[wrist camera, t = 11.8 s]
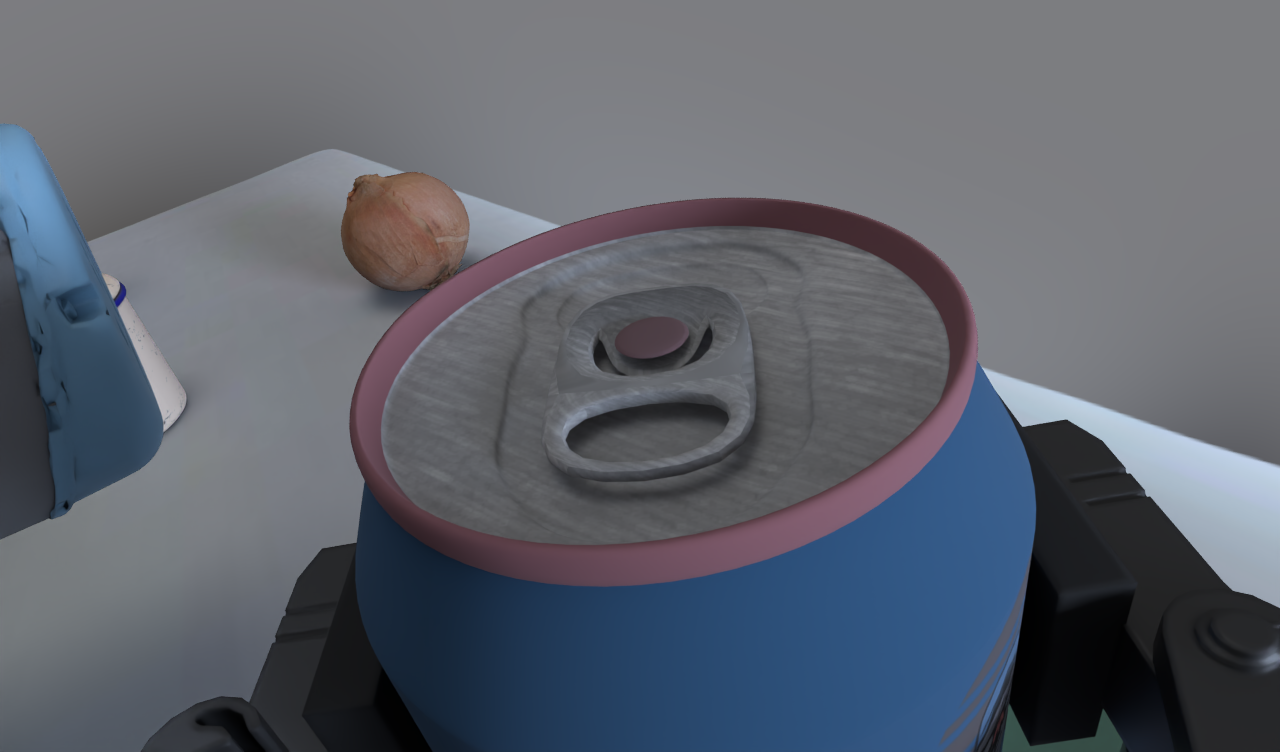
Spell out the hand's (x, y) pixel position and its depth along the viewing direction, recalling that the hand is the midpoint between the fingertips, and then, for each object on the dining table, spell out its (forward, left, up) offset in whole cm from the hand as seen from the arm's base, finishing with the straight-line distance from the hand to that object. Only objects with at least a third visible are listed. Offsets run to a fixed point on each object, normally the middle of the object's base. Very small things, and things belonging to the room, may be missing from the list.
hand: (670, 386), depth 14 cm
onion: (-48, +6, -18) cm, 52 cm away
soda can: (+4, -2, -8) cm, 9 cm away
